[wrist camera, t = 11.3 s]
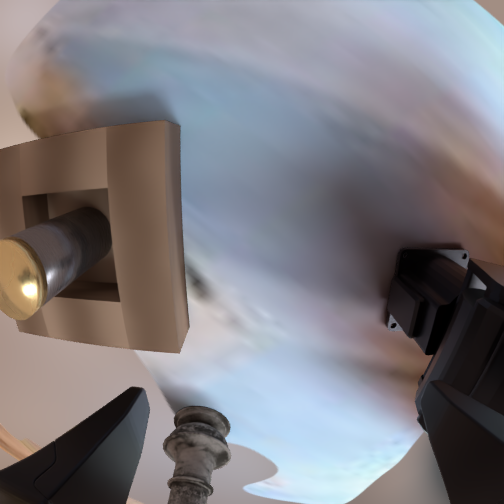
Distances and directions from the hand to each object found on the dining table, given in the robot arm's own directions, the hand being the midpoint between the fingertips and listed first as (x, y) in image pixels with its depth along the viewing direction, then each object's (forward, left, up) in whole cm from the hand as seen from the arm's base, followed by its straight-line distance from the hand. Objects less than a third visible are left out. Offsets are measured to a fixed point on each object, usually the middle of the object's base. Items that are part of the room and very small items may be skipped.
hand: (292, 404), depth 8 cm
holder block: (+13, -2, -13) cm, 18 cm away
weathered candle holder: (+6, +16, -13) cm, 22 cm away
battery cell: (+13, -2, -12) cm, 18 cm away
